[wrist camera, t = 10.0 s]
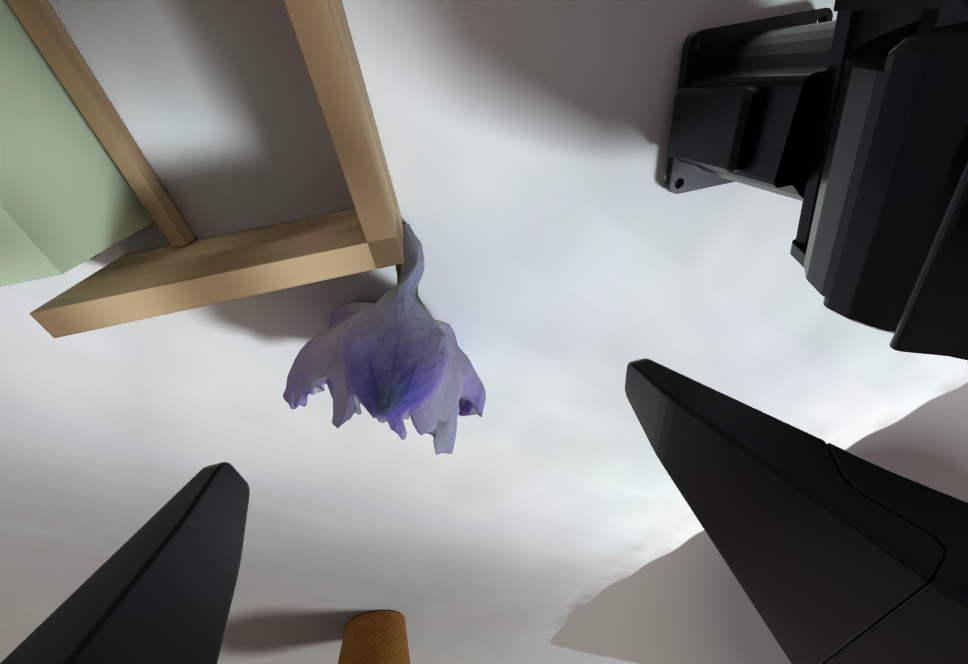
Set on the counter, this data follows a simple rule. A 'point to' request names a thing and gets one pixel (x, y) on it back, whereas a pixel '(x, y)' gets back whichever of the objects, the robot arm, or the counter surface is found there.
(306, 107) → the counter surface
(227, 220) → the counter surface
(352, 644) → the disposable coffee cup
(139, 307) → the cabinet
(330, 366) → the flower
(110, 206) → the pale green block
